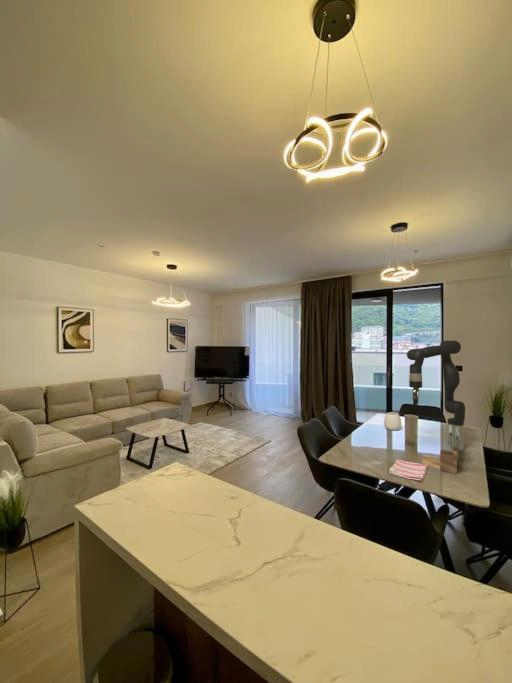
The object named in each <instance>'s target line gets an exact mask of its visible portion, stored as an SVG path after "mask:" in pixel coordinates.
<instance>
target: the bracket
mask: <svg viewBox="0 0 512 683" xmlns="http://www.w3.org/2000/svg"><path fill="white" fill-rule="evenodd" d="M457 429H458V430H457ZM448 430H449V444H450V445H448V443H446V444H445V450H447V451H453V450H452V424H451V425H449V426H448V425H447V431H448ZM458 431H459V427H455V446H456V447H457V462H459V451H458V446H459V440H460V438H459V432H458Z"/></svg>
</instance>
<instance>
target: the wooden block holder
mask: <svg viewBox="0 0 512 683" xmlns="http://www.w3.org/2000/svg"><path fill="white" fill-rule="evenodd" d="M452 449H453V450H452V451H447V450H446V449H440V454H439V456H440V457H439V458H440V469H439V470H440V472H444V473H447V474H448V473H449V474H452V475H453V474H454V475H458V461H457V447H456V446H452Z"/></svg>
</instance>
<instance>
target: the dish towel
mask: <svg viewBox="0 0 512 683" xmlns="http://www.w3.org/2000/svg"><path fill="white" fill-rule="evenodd" d="M428 468H429V466H428V465H422V463H418V462H412V461H411V462H410V461H406V460H402V459H396V460H395V462H394V463H393V465H392V466H391V467H390V468H389V470H388V471H389V474H390V475H393V476H396V477H400V478H404V479H406V480H407V479H408V480H413V481H418V482H421V483H422V482H423V480H424V479H425V476H426V474H427V472H428Z"/></svg>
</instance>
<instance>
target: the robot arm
mask: <svg viewBox="0 0 512 683" xmlns="http://www.w3.org/2000/svg"><path fill="white" fill-rule="evenodd" d="M461 349H462V346H461V343H460V341H458V340H442V341H441V342H440V344H439V345H431V346H425V347H421V348H413V349H410V350H408V351H407V352H406V358H407V359H408V360H411V361H414V363H411V364H410V365H409V375H408V376H409V377H408V378H409V379H408V384H409V385H408V386H409V388H413V389H412V390H411V392H412V394H411V396H412V398H411V399H412V404H413V405H412V406H413V407H417V406H418V404H419V398H420V389H421V388H423V374H422V373H423V372H422V370H423V368H422V367H423V365H424V362H425V361H424V360H425V359H428V358H432V357H437V356H440V357H441V362H442V371H443V372H442V373H443V374H442V375H443V384H444V409H445V411H446V412H447V413H449V414H453V416H454V417H449V418H447V427H448V426H449V425H451V424H452V446H455V427H459V431H458V432H459V438H460V440H459V446H458V452H459V451H460V452H461V451H464V450H465V449H464V448H465V442H464V440H465V432H464V429H465V428H464V425H465V419H466V405H465V403H464V402H462V401H459V400H455V395H454V394H455V391H456V389H457V388H458V386H459V385H460V382H461V379H460V372H459V370H458V368H457V366H456V365H455V364H454V362H453V361H452V358H451V357H452V356H451V355H457V354H458V353H460V351H461ZM457 430H458V429H457ZM447 445H450V444H449V430H448V429H447ZM452 451H453V449H452Z"/></svg>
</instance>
